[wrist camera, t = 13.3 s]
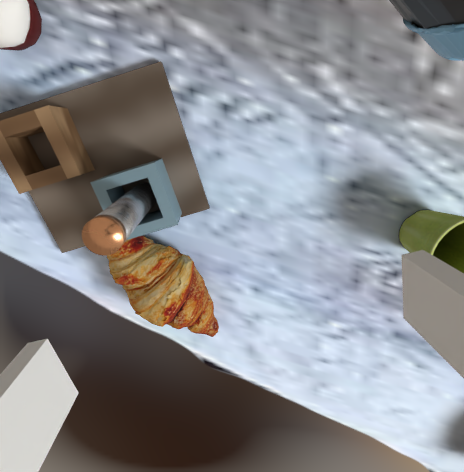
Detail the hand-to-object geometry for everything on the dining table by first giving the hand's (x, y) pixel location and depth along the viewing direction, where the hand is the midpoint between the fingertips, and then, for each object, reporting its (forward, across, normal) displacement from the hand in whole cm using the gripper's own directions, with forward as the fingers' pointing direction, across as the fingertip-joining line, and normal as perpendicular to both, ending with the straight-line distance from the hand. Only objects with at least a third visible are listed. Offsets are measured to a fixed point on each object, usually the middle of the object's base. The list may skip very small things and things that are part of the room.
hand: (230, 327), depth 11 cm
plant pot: (+28, +26, -13) cm, 41 cm away
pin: (+27, -9, +1) cm, 29 cm away
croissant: (+28, -10, -10) cm, 31 cm away
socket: (+28, -9, +1) cm, 29 cm away
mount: (+28, -18, +9) cm, 34 cm away
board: (+28, -12, +6) cm, 31 cm away
